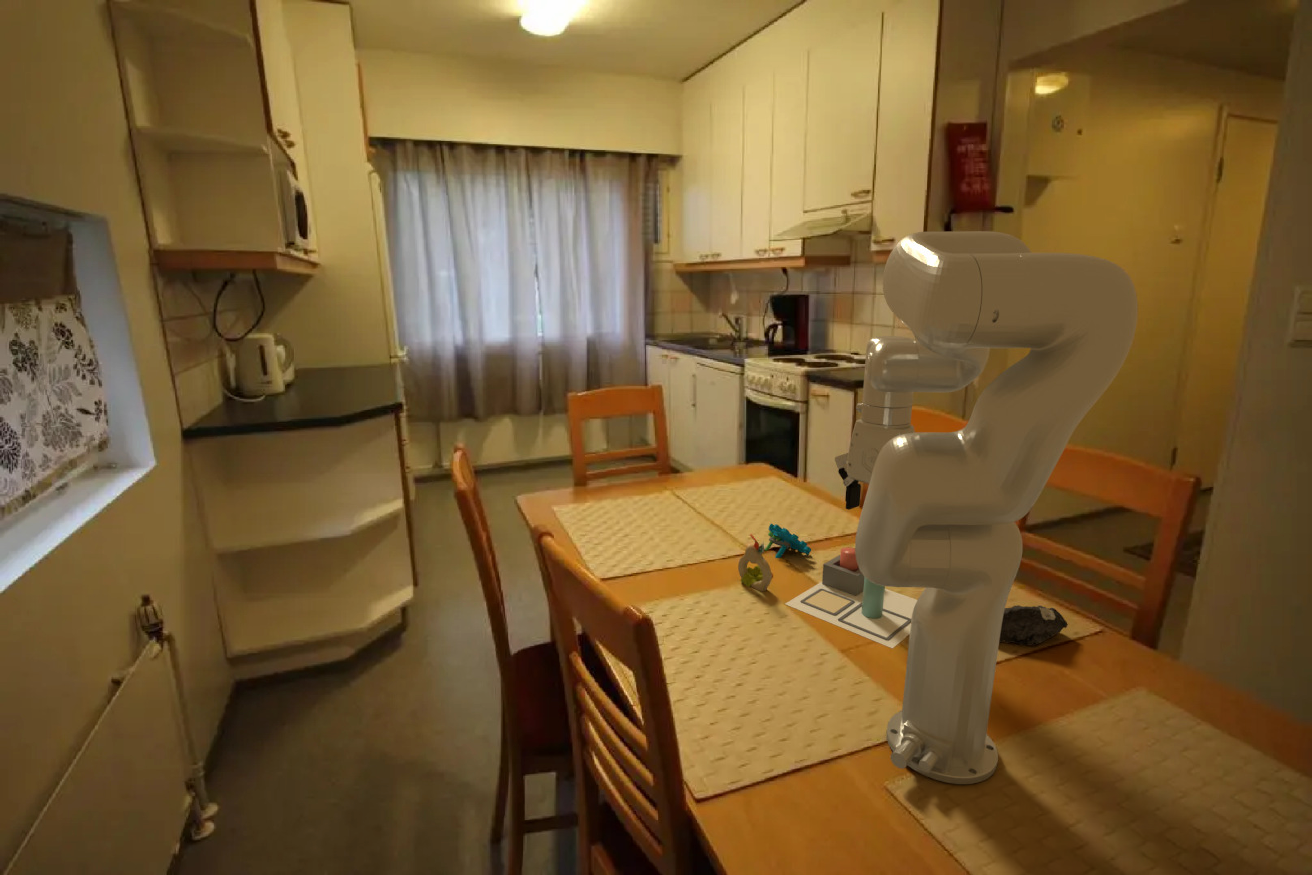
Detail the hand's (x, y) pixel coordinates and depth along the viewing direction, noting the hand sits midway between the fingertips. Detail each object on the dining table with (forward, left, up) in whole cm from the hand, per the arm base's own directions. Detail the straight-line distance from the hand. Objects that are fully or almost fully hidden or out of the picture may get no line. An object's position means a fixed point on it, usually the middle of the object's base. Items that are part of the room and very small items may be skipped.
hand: (877, 515), depth 108 cm
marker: (0, -1, -18) cm, 18 cm away
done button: (+7, +8, -16) cm, 19 cm away
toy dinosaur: (+11, +24, -19) cm, 33 cm away
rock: (+11, -21, -19) cm, 30 cm away
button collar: (+7, +8, -18) cm, 21 cm away
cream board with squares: (+1, +2, -18) cm, 18 cm away
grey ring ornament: (-4, +19, -19) cm, 27 cm away
